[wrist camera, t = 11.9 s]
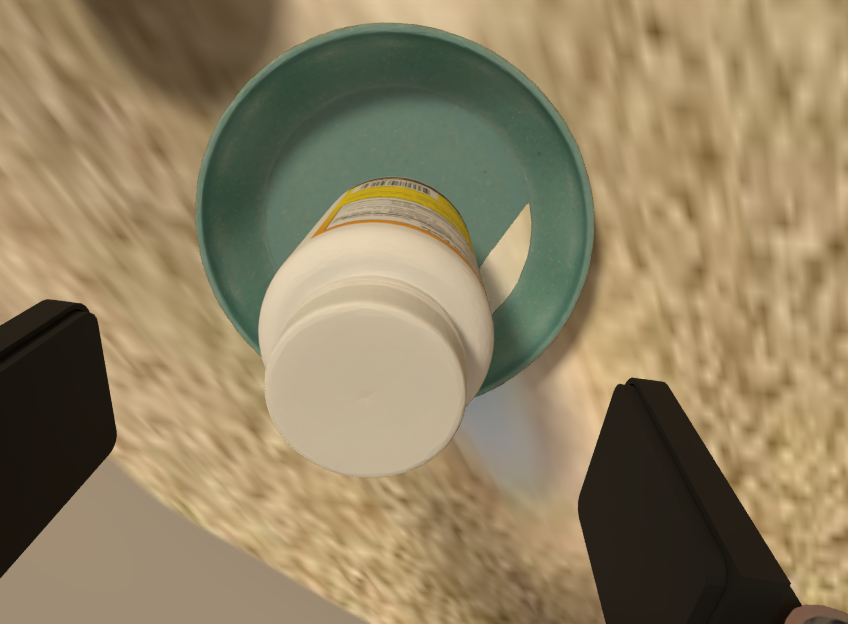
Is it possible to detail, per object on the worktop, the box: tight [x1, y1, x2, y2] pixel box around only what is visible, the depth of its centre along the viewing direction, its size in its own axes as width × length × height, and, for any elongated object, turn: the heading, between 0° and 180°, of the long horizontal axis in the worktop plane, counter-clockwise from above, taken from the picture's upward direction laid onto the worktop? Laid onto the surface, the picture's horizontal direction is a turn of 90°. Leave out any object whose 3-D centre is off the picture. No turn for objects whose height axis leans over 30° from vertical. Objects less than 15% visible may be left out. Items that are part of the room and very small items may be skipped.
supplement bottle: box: [258, 177, 494, 478], centre depth 15 cm, size 6×6×10 cm
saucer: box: [195, 23, 595, 397], centre depth 21 cm, size 15×15×3 cm
